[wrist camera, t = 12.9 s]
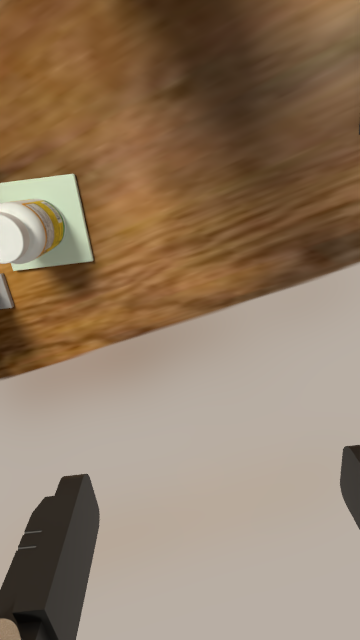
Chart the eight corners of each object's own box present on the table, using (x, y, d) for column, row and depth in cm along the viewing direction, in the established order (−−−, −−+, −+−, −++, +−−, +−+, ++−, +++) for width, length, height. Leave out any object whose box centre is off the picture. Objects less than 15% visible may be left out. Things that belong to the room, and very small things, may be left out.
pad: (-11, 184, 35) (-14, 184, 34) (74, 173, 34) (73, 173, 34) (15, 269, 38) (13, 270, 38) (93, 259, 38) (92, 261, 37)
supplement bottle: (68, 204, 35) (34, 212, 26) (65, 254, 37) (31, 277, 28) (15, 193, 34) (-38, 197, 26) (14, 244, 36) (-35, 265, 28)
